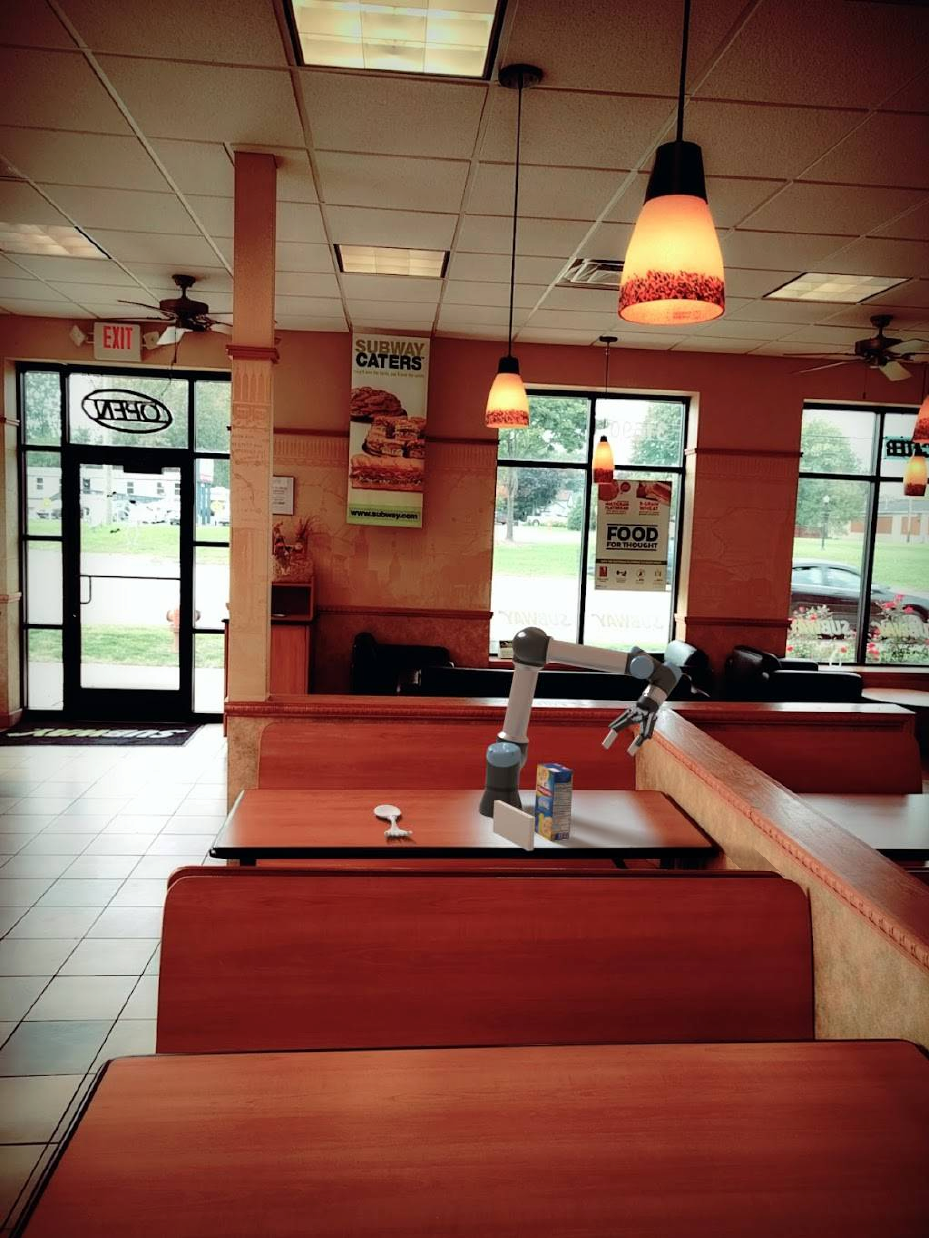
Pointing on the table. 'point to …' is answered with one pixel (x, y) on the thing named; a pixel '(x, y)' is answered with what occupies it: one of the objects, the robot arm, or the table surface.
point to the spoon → (391, 814)
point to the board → (514, 825)
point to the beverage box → (553, 801)
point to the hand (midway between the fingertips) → (617, 749)
